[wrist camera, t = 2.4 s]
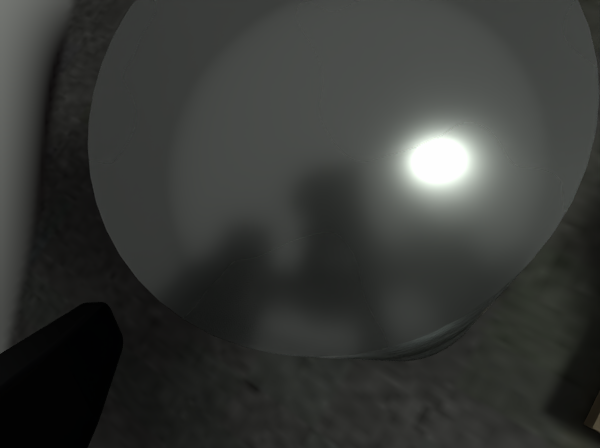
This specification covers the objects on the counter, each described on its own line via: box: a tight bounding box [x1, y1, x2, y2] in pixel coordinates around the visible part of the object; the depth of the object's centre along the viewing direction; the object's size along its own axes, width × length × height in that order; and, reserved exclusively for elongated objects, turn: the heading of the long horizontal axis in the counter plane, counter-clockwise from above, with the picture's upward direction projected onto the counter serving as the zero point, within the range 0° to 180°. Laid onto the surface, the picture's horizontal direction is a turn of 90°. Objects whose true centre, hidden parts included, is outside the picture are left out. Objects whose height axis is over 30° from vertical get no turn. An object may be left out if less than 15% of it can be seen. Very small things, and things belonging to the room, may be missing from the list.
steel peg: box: [88, 0, 599, 361], centre depth 12 cm, size 6×6×13 cm
